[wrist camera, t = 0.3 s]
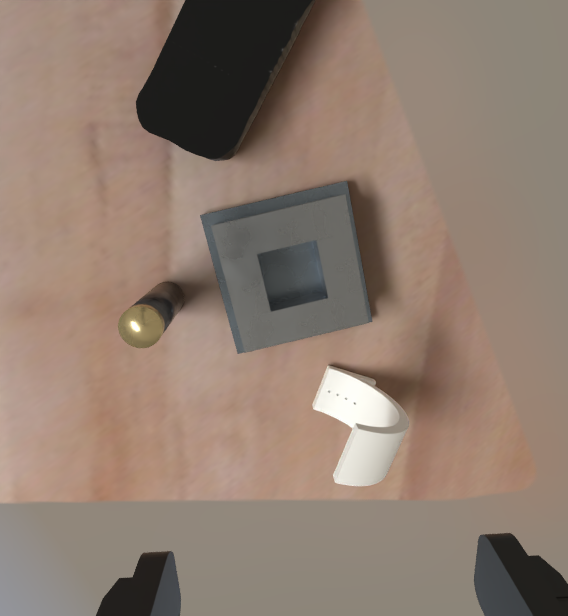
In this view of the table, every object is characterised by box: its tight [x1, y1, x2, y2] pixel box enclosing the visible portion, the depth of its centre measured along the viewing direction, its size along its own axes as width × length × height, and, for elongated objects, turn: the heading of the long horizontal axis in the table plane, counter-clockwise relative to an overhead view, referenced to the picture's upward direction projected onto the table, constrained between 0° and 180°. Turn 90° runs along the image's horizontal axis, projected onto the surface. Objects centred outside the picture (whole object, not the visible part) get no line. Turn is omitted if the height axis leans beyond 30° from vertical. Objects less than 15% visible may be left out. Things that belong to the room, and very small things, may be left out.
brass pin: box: [118, 282, 184, 348], centre depth 33 cm, size 3×3×10 cm
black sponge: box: [136, 0, 315, 161], centre depth 32 cm, size 16×8×4 cm, turn 150°
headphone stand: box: [312, 365, 409, 486], centre depth 36 cm, size 5×6×12 cm
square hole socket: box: [200, 181, 372, 354], centre depth 36 cm, size 13×13×4 cm
